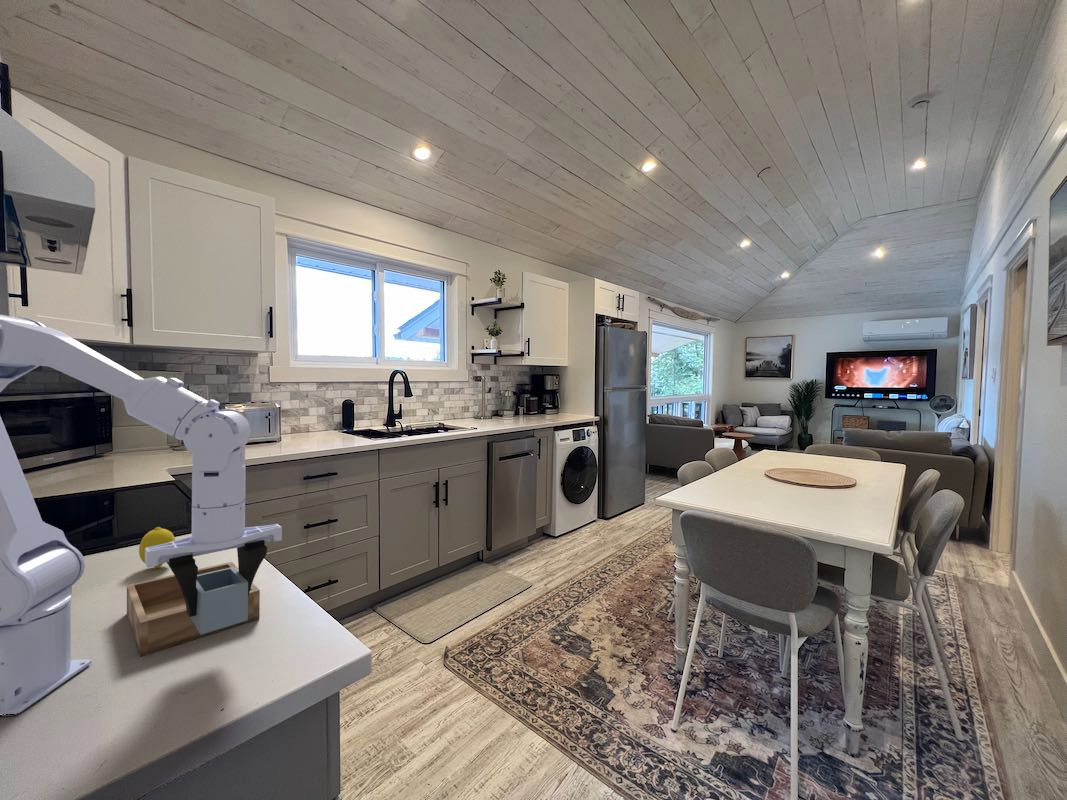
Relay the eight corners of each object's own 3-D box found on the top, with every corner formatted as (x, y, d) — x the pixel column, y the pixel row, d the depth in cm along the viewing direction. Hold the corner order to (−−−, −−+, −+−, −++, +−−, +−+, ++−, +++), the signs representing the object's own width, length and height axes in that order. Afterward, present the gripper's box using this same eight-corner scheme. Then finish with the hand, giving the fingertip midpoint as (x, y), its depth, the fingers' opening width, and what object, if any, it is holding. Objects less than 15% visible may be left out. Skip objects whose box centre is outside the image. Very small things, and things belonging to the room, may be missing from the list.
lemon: (154, 574, 85) (154, 532, 85) (131, 571, 86) (131, 530, 86) (182, 563, 90) (183, 524, 90) (160, 561, 91) (160, 522, 91)
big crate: (259, 618, 70) (259, 590, 70) (139, 656, 59) (140, 622, 59) (231, 586, 81) (231, 561, 80) (126, 613, 70) (126, 585, 70)
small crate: (247, 620, 58) (248, 582, 58) (200, 634, 55) (200, 594, 55) (233, 601, 63) (233, 566, 63) (188, 614, 59) (189, 576, 59)
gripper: (270, 489, 67) (269, 580, 67) (141, 506, 56) (141, 614, 56) (287, 498, 62) (286, 596, 62) (149, 518, 51) (149, 636, 51)
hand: (218, 606), depth 59 cm, fingers closed on small crate, 5 cm apart
